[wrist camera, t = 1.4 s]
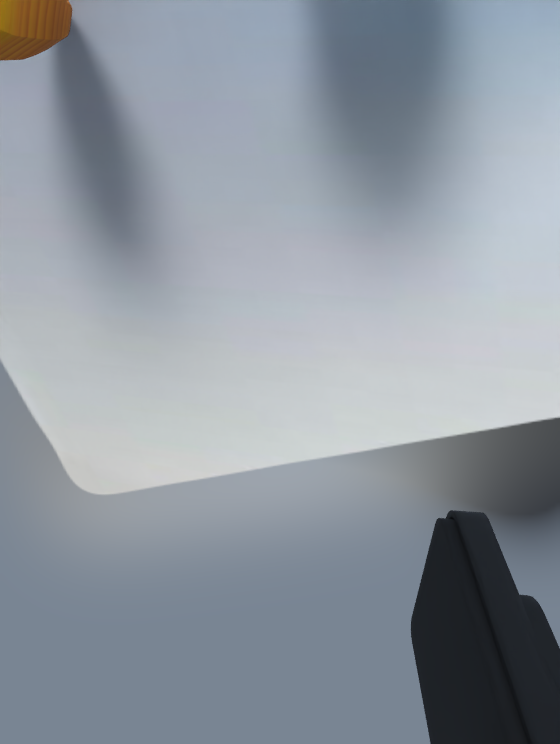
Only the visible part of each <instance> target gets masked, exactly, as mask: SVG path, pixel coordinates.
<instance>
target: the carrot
mask: <svg viewBox="0 0 560 744" xmlns="http://www.w3.org/2000/svg"><path fill="white" fill-rule="evenodd" d="M71 17H72V7H71V4H70V3H69V1H68V0H0V60H21V59H26V58H29V57H31V56H34V55H37V54H39V53H41V52H43V51H45V50H47V49H49V48H50V47H52V46H53V45H55V44H56V43H58V42H59V41H61V40H62V39H64V38H65V37H67V36H68V34H69V32H70V25H71Z"/></svg>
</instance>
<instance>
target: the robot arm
mask: <svg viewBox="0 0 560 744" xmlns="http://www.w3.org/2000/svg"><path fill="white" fill-rule="evenodd" d="M411 637H412V644H413V649H414V655H415V660H416V666H417V671H418V676H419V682H420V688H421V693H422V698H423V704H424V709H425V714H426V720H427V725H428V731H429V737H430V742H431V744H560V648H559V646H558V644H557V642H556V639H555V637H554V635H553V632H552V630H551V628H550V626H549V623H548V621H547V619H546V616H545V614H544V612H543V610H542V608H541V607H540V605H539V603H538V602H537V601H536V600H535V599H534V598H533V597H531V596H527V595H519V593H518V590H517V588H516V585H515V583H514V581H513V578H512V576H511V573H510V571H509V568H508V566H507V563H506V561H505V559H504V556H503V554H502V551H501V549H500V546H499V544H498V541H497V539H496V537H495V534H494V532H493V529H492V527H491V524H490V522H489V519H488V518H487V516H486V515H485V514H484V513H481V512H466V511H449V513H448V514H447V517H446V519H444V518H438V519H437V521H436V524H435V527H434V531H433V535H432V539H431V543H430V547H429V551H428V555H427V559H426V563H425V568H424V571H423V575H422V579H421V583H420V587H419V591H418V595H417V599H416V603H415V607H414V611H413V615H412V620H411Z"/></svg>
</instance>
